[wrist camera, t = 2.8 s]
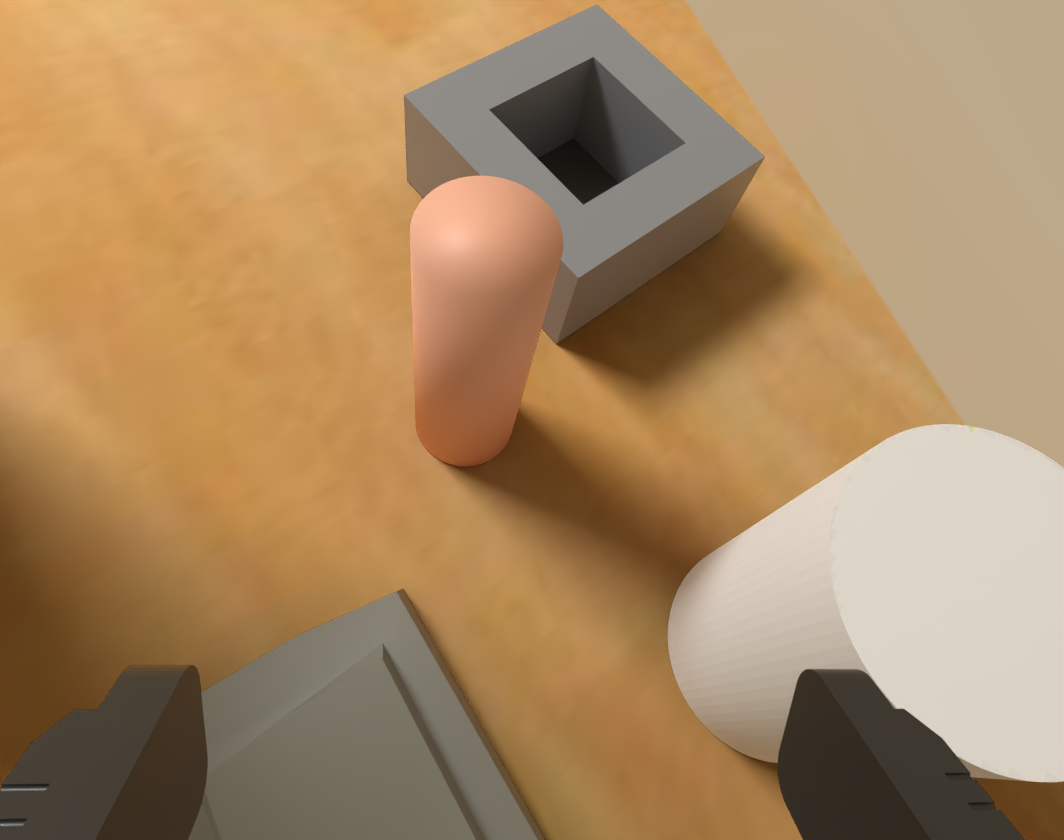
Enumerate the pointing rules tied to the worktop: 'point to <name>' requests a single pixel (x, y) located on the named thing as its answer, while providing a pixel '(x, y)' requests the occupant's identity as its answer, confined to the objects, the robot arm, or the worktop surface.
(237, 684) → the soap mold
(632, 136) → the socket block
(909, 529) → the white patterned cylinder
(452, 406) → the peg
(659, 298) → the worktop surface
